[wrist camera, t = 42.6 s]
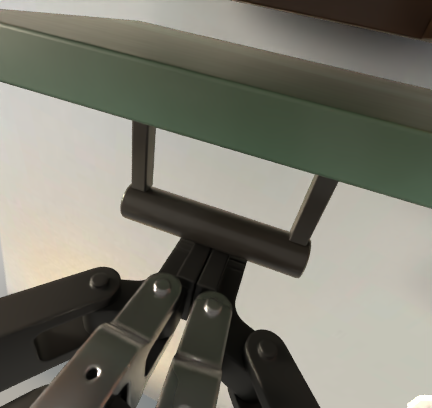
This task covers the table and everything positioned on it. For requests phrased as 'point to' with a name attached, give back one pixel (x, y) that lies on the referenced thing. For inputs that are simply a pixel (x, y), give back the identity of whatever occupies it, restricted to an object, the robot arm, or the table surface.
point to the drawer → (238, 112)
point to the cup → (421, 402)
